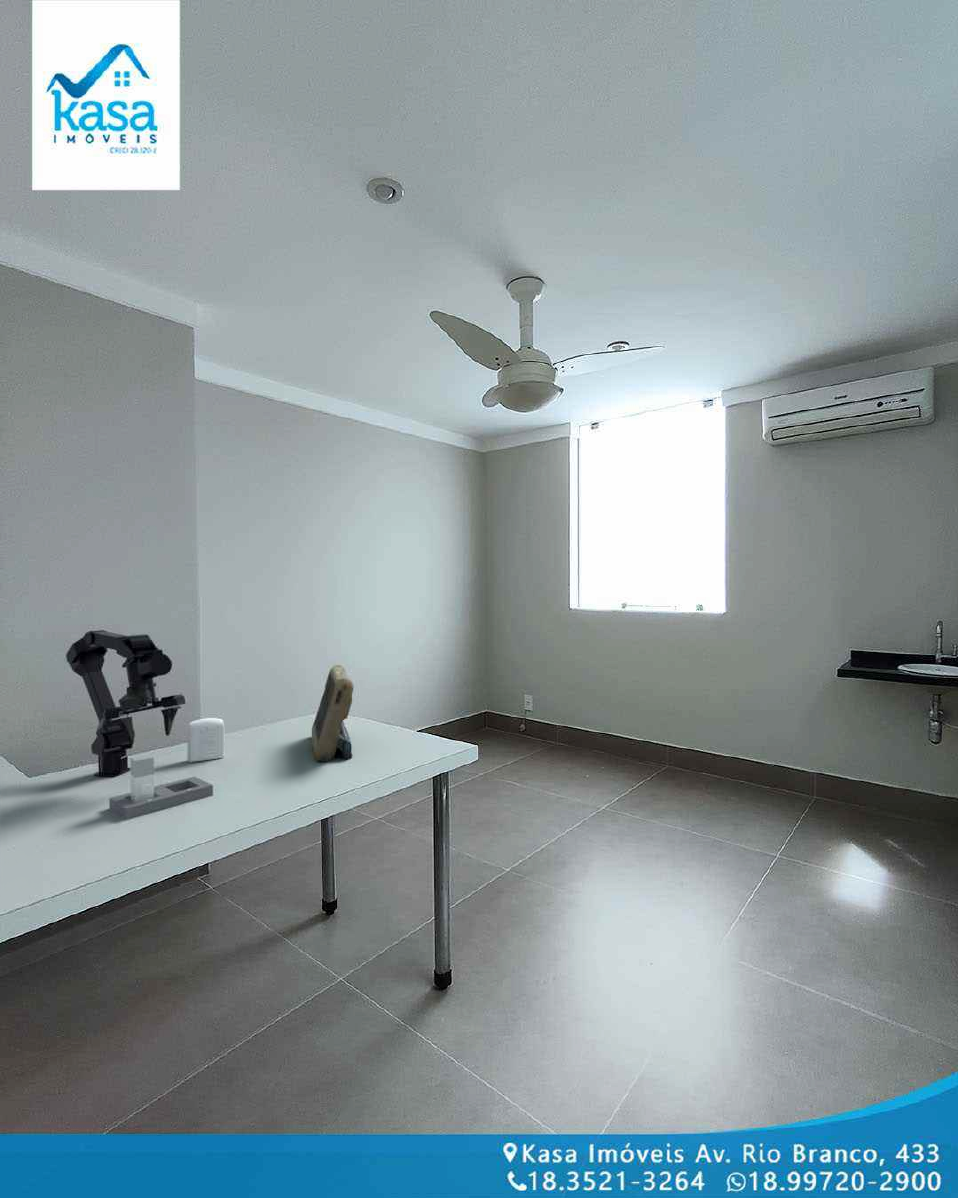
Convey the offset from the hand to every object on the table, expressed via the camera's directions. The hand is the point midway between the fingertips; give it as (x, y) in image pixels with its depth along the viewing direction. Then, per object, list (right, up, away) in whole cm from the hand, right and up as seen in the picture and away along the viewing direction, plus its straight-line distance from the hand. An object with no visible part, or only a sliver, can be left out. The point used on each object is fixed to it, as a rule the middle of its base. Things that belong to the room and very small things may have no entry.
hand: (150, 739), depth 156 cm
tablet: (+39, -11, +36) cm, 54 cm away
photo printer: (+5, -12, +22) cm, 26 cm away
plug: (+7, -13, -15) cm, 21 cm away
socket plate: (+10, -12, -12) cm, 20 cm away
